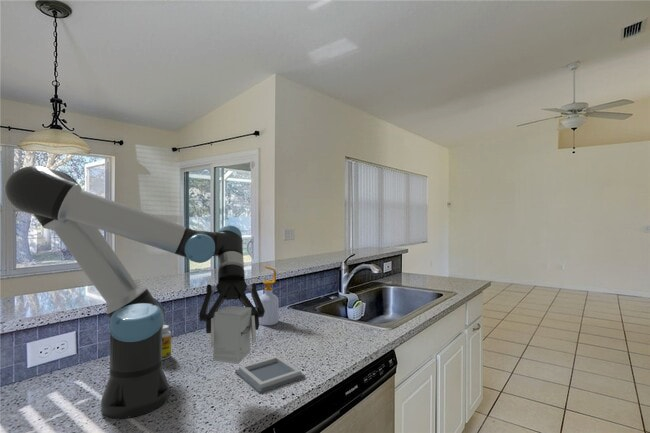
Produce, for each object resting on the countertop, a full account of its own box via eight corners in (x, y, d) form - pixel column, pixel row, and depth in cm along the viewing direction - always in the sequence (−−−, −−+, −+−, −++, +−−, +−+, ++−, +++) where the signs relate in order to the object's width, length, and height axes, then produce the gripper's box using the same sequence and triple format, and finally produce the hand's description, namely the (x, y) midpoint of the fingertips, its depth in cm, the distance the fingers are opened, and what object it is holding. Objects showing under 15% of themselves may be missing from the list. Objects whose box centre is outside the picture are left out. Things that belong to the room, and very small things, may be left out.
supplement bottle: (152, 362, 111) (152, 330, 111) (152, 355, 116) (152, 325, 116) (171, 359, 114) (172, 328, 113) (170, 352, 119) (170, 323, 118)
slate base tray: (259, 393, 93) (259, 386, 93) (235, 372, 105) (235, 366, 105) (304, 377, 103) (304, 371, 103) (278, 359, 114) (278, 354, 114)
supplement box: (239, 364, 88) (240, 314, 87) (212, 361, 89) (213, 312, 89) (251, 353, 95) (252, 307, 95) (225, 350, 96) (227, 304, 96)
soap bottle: (256, 320, 155) (256, 265, 155) (276, 318, 158) (277, 264, 158) (258, 326, 147) (259, 268, 146) (280, 324, 149) (280, 267, 149)
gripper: (266, 276, 110) (274, 345, 95) (191, 278, 103) (186, 353, 88) (270, 262, 105) (279, 332, 90) (191, 263, 98) (186, 339, 83)
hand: (233, 342), depth 89 cm, fingers closed on supplement box, 10 cm apart
